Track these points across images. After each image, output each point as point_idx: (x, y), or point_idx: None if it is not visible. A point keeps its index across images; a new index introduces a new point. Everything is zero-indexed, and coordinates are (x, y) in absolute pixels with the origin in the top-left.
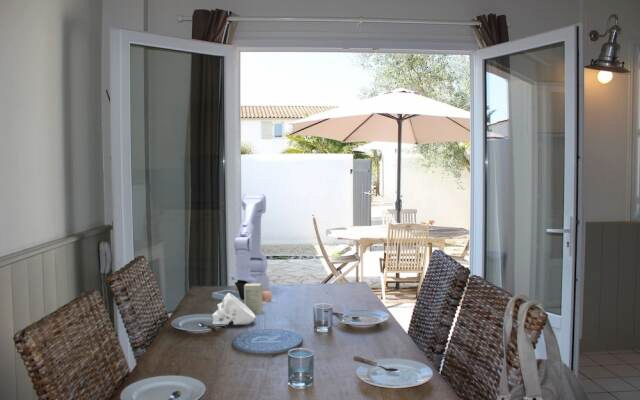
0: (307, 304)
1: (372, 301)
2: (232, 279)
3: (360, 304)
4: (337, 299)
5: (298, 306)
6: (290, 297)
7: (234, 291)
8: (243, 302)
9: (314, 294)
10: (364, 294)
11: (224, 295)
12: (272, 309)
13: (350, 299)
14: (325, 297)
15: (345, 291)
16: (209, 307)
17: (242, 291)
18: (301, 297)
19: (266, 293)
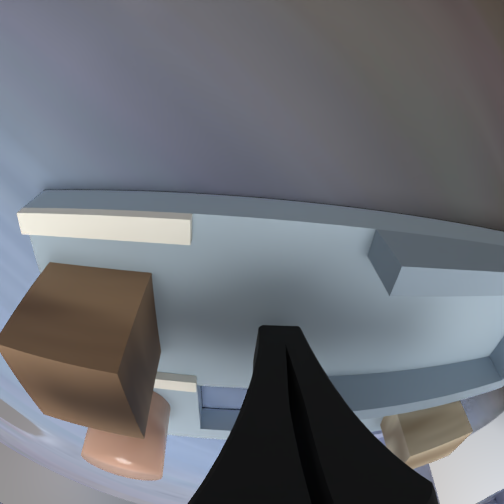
0: (49, 424)
1: (27, 457)
2: (501, 492)
3: (6, 438)
4: (77, 466)
5: (29, 398)
6: (198, 468)
7: (457, 396)
8: (234, 297)
9: (176, 488)
10: (98, 489)
11: (501, 277)
12: (9, 314)
13: (63, 467)
14: (118, 476)
15: (151, 499)
16: (489, 44)
17: (240, 414)
18: (167, 472)
19: (86, 444)
